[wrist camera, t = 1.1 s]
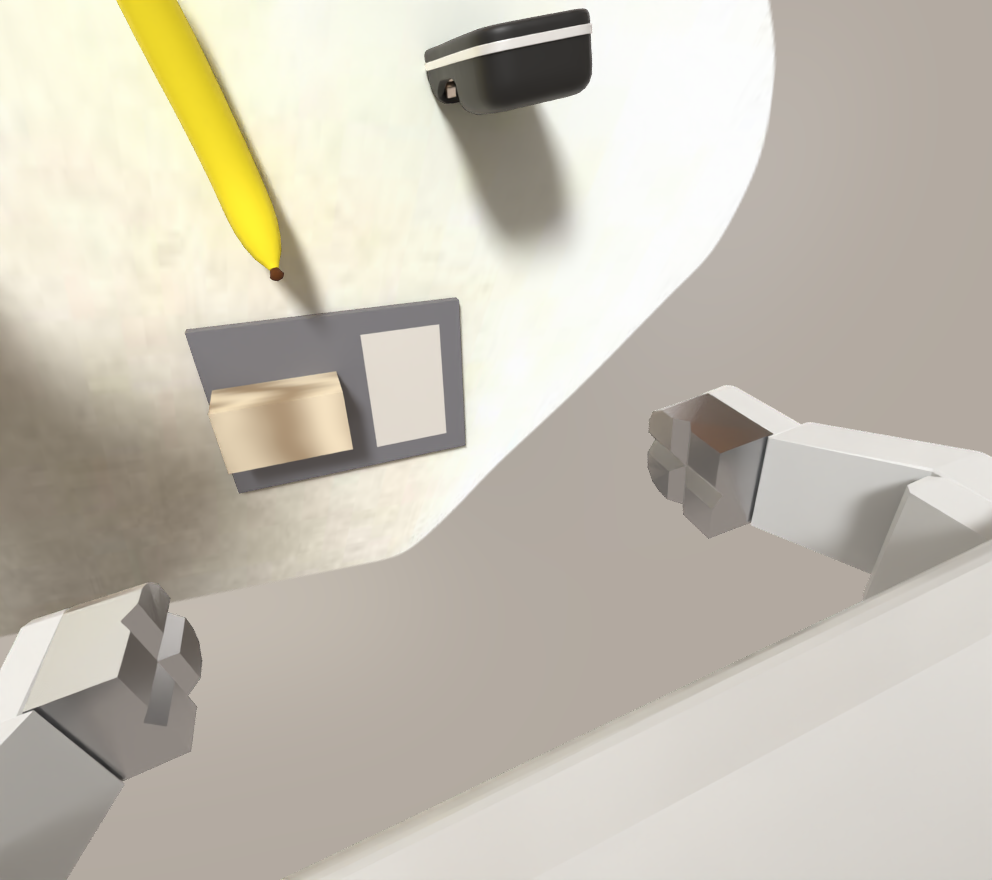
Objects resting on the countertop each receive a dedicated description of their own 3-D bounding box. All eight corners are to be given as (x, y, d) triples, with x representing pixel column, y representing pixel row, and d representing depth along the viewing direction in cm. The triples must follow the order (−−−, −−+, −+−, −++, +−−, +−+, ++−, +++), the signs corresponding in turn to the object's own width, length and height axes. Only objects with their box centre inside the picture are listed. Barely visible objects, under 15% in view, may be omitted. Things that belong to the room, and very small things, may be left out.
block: (230, 447, 41) (228, 474, 38) (211, 390, 39) (208, 414, 35) (346, 425, 44) (353, 449, 41) (336, 371, 41) (342, 392, 38)
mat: (239, 488, 44) (238, 493, 43) (186, 329, 37) (184, 333, 36) (462, 441, 50) (465, 445, 50) (455, 297, 43) (459, 300, 42)
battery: (431, 119, 36) (491, 119, 27) (418, 51, 34) (477, 26, 25) (523, 98, 37) (608, 92, 28) (515, 32, 35) (605, 2, 26)
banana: (123, -127, 26) (90, -187, 21) (296, 252, 37) (303, 272, 32) (61, -115, 25) (13, -173, 20) (256, 265, 36) (256, 289, 31)
